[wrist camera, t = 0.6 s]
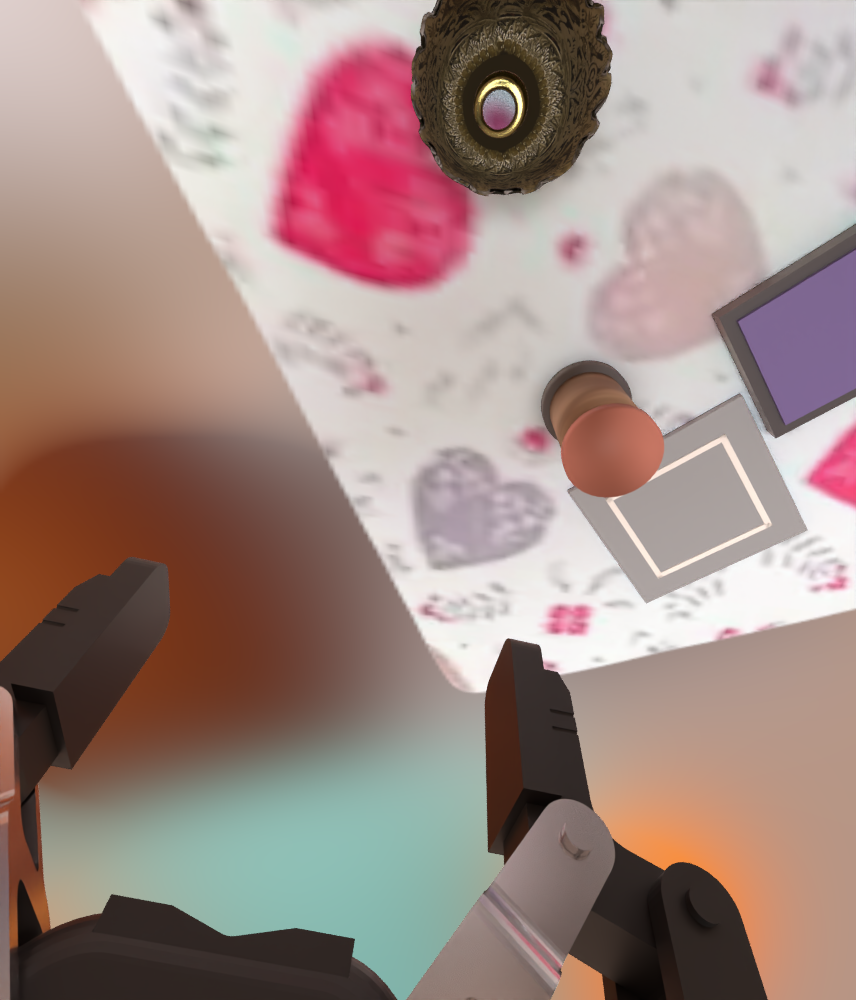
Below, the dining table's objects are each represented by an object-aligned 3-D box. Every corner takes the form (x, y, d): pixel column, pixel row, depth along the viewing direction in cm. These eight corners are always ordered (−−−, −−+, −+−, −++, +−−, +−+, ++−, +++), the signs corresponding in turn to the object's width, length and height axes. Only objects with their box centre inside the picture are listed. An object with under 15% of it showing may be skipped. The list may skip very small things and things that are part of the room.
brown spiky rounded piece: (584, 8, 24) (630, -65, 17) (566, 193, 28) (599, 193, 21) (422, 15, 25) (406, -53, 18) (426, 196, 29) (413, 197, 22)
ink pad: (882, 207, 27) (899, 208, 26) (925, 348, 31) (942, 354, 30) (711, 314, 31) (720, 318, 30) (768, 431, 34) (778, 439, 33)
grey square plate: (739, 393, 33) (743, 396, 32) (804, 526, 37) (808, 530, 37) (567, 490, 37) (568, 493, 37) (644, 599, 41) (646, 604, 41)
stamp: (602, 342, 32) (638, 383, 25) (642, 411, 34) (686, 466, 27) (525, 393, 34) (539, 443, 27) (567, 455, 36) (591, 517, 29)
